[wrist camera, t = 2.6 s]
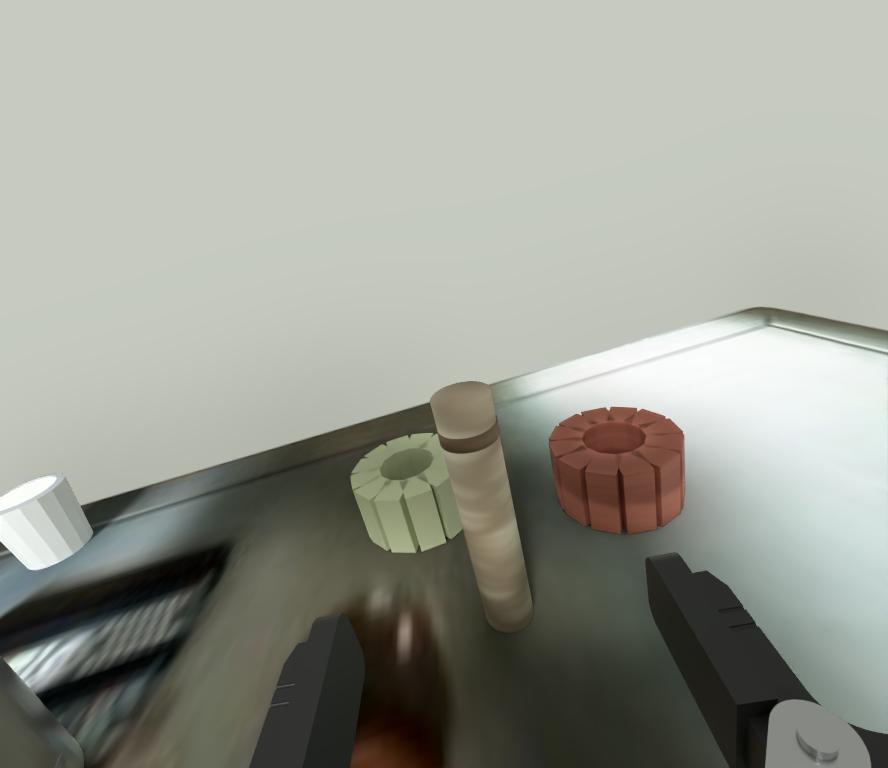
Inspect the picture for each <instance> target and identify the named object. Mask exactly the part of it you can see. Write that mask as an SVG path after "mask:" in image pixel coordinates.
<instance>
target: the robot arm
mask: <svg viewBox="0 0 888 768" xmlns="http://www.w3.org/2000/svg"><path fill="white" fill-rule="evenodd" d="M646 574H647V586H648V597H649V604H650V608H651V612H652V615H653V618H654V620H655V623H656V625H657V627H658V629H659V631H660V633H661V635H662V637H663V639H664V641H665V643H666V645H667V647H668V648H669V650H670V652H671V654H672V656H673V658H674V660H675V662H676V664H677V666H678V668H679V670H680V672H681V674H682V676H683V678H684V680H685V682H686V683H687V685H688V687H689V689H690V691H691V693H692V695H693V697H694V699H695V701H696V703H697V705H698V707H699V709H700V711H701V713H702V715H703V717H704V718H705V720H706V722H707V724H708V726H709V728H710V730H711V732H712V734H713V736H714V738H715V740H716V742H717V744H718V746H719V748H720V750H721V751H722V753H723V755H724V757H725V759H726V761H727V763H728V765H729V767H730V768H888V734H883V733H878V732H873V731H869V730H865V729H862V728H859V727H856V726H854V725H852V724H850V723H847V722H846V721H845V720H843V719H842V718H841V717H839V716H838V715H837V714H835V713H834V712H832V711H830V710H829V709H827V708H825V707H823V706H821V705H820V704H819V703H818V702H817V701H816V700H815V699H814V698H813V697H812V696H811V695H810V694H809V692H808V691H807V690H806V689H805V687H804V686H803V685H802V683H801V682H800V681H799V679H798V678H797V677H796V675H795V674H794V673H793V672H792V670H791V669H790V668H789V666H788V665H787V664H786V662H785V661H784V660H783V658H782V657H781V656H780V654H779V653H778V652H777V650H776V649H775V648H774V646H773V645H772V644H771V642H770V641H769V640H768V638H767V637H766V636H765V634H764V633H763V632H762V630H761V629H760V628H759V627H757V626H756V623H755V621H754V620H753V618H752V617H751V616H750V614H749V613H748V612H747V611H746V610H744V608H743V605H742V604H741V603H740V601H739V600H738V599H737V597H736V596H735V595H734V593H733V592H732V591H731V589H730V588H729V587H728V586H727V585H726V584H725V583H723V582H722V581H720V580H719V579H718V578H716V577H715V576H713V575H712V574H711V573H709V572H708V571H702V572H696V573H692V572H691V571H690V569H689V568H688V566H687V565H686V563H685V562H684V560H683V559H682V557H681V556H680V555H679V554H678V553H670V554H665V555H659V556H654V557H648V558H646ZM364 673H365V664H364V656H363V652H362V649H361V647H360V644H359V642H358V640H357V637H356V635H355V633H354V631H353V628H352V626H351V624H350V622H349V619H348V617H347V615H346V614H345V613H341V614H336V615H330V616H325V617H320V618H317V619H315V621H314V623H313V625H312V628H311V632H310V635H309V638H308V642H304V643H299V644H297V646H296V647H295V649H294V650H293V652H292V653H291V655H290V656H289V658H288V659H287V660H286V662H285V663H284V666H283V669H282V672H281V675H280V678H279V681H278V684H277V690H275V693H274V696H273V699H272V702H271V708H269V711H268V713H267V716H266V719H265V722H264V725H263V728H262V731H261V734H260V737H259V740H258V743H257V746H256V749H255V752H254V755H253V758H252V761H251V764H250V767H249V768H350V763H351V757H352V751H353V744H354V738H355V732H356V725H357V719H358V713H359V707H360V700H361V694H362V688H363V681H364ZM0 768H84V755H83V751H82V749H81V747H80V745H79V744H78V742H77V741H76V740H75V739H74V738H73V736H72V735H71V734H70V733H69V732H68V731H67V730H66V729H65V728H64V727H63V725H62V724H61V723H60V722H59V721H58V720H57V719H56V718H55V717H54V715H53V714H52V713H51V712H50V711H49V710H48V709H47V708H46V707H45V705H44V704H43V703H42V702H41V700H40V699H39V698H38V697H37V696H36V695H35V694H34V693H33V691H32V690H31V689H30V688H29V687H28V686H27V685H26V684H25V683H24V682H23V680H22V679H21V678H20V677H19V676H18V675H17V674H16V673H15V672H14V671H13V669H12V668H11V667H10V666H9V665H8V664H7V663H6V662H5V661H4V660H3V658H2V657H1V656H0Z"/></svg>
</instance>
